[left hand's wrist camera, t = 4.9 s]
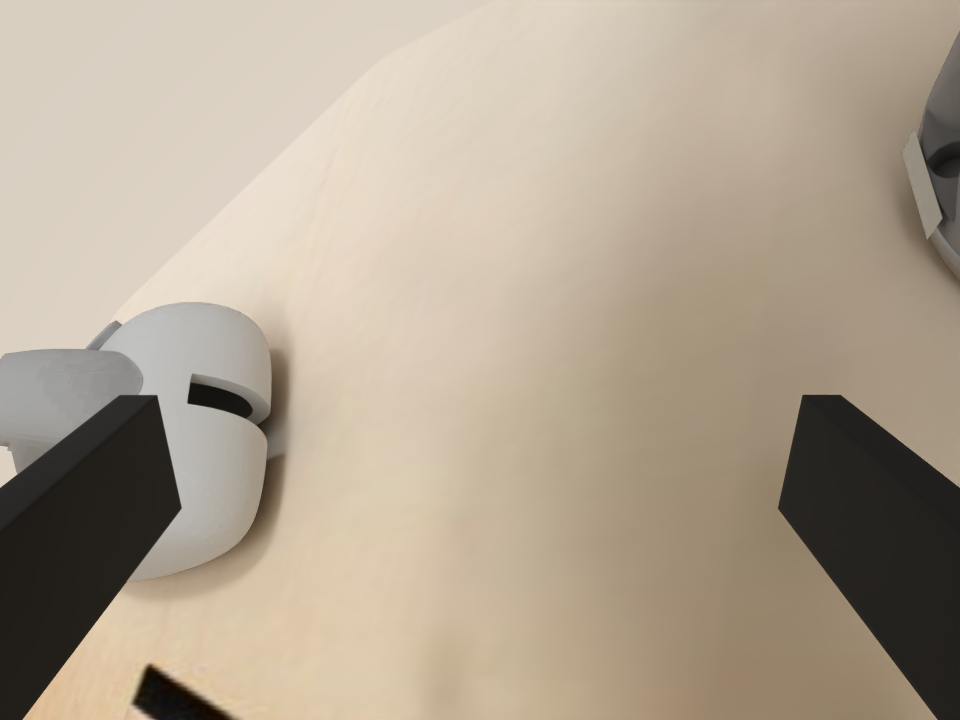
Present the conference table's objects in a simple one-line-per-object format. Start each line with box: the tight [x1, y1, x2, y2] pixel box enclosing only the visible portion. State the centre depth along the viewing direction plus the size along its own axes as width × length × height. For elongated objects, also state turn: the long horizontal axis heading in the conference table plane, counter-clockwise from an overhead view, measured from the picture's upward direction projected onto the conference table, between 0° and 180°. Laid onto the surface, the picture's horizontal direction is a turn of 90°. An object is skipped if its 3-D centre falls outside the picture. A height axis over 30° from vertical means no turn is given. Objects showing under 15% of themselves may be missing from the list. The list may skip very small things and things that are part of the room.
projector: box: [0, 302, 272, 582], centre depth 38 cm, size 22×23×15 cm
